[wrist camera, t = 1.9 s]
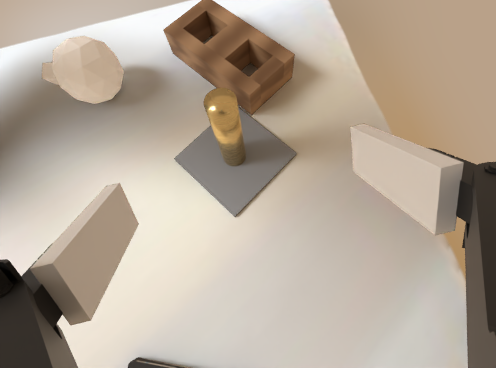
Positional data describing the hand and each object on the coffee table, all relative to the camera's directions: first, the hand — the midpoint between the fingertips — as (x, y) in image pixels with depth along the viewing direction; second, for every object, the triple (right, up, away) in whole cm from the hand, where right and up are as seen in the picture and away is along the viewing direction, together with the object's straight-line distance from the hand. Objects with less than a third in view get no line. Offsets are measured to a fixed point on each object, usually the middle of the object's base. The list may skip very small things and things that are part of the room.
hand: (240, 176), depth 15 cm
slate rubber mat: (-1, +3, +22) cm, 23 cm away
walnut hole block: (-2, +19, +28) cm, 34 cm away
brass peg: (-1, +3, +22) cm, 22 cm away
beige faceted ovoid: (-24, +15, +28) cm, 40 cm away
